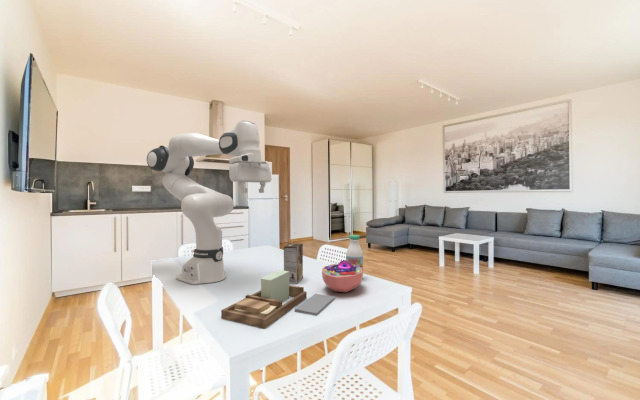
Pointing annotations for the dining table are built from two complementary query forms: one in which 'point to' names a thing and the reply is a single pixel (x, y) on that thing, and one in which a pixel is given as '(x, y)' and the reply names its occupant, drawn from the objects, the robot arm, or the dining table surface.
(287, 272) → the pale green cuboid
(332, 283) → the cell model
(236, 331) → the dining table surface
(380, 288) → the dining table surface
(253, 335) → the dining table surface
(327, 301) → the slate pad
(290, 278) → the coffee box
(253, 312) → the offcut stack
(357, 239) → the milk bottle
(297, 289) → the frame
